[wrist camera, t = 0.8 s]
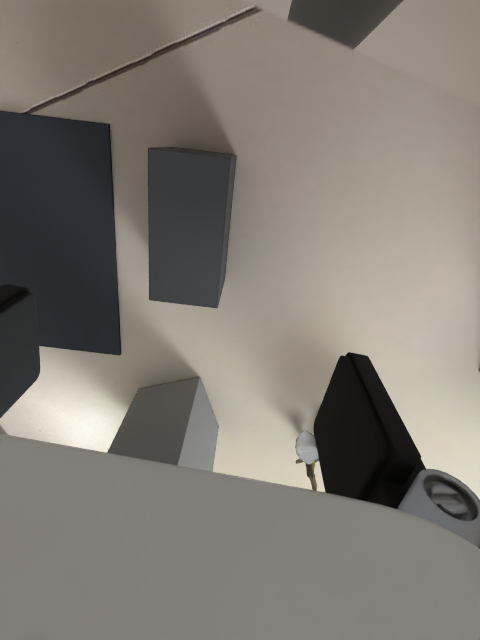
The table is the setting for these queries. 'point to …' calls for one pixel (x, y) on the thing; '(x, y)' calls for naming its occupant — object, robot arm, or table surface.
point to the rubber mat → (61, 228)
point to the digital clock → (189, 224)
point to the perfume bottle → (170, 426)
